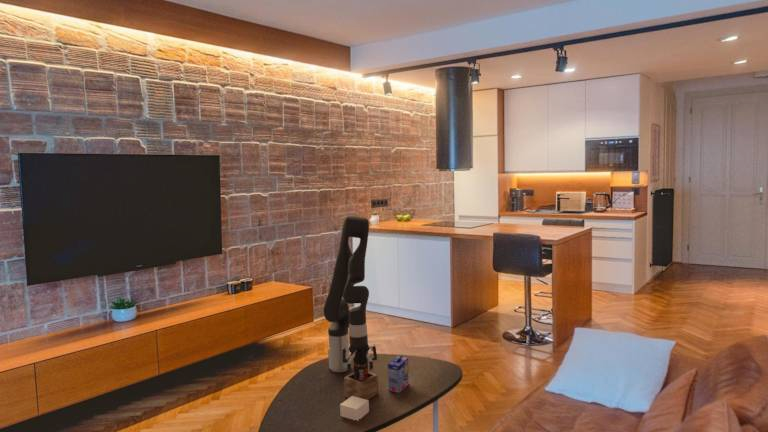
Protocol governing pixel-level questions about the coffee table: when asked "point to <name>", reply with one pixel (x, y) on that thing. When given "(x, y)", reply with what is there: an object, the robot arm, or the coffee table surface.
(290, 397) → the coffee table surface
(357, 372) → the deodorant
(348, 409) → the offwhite block
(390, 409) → the coffee table surface
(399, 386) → the ink cartridge box
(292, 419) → the coffee table surface
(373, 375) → the wooden box
